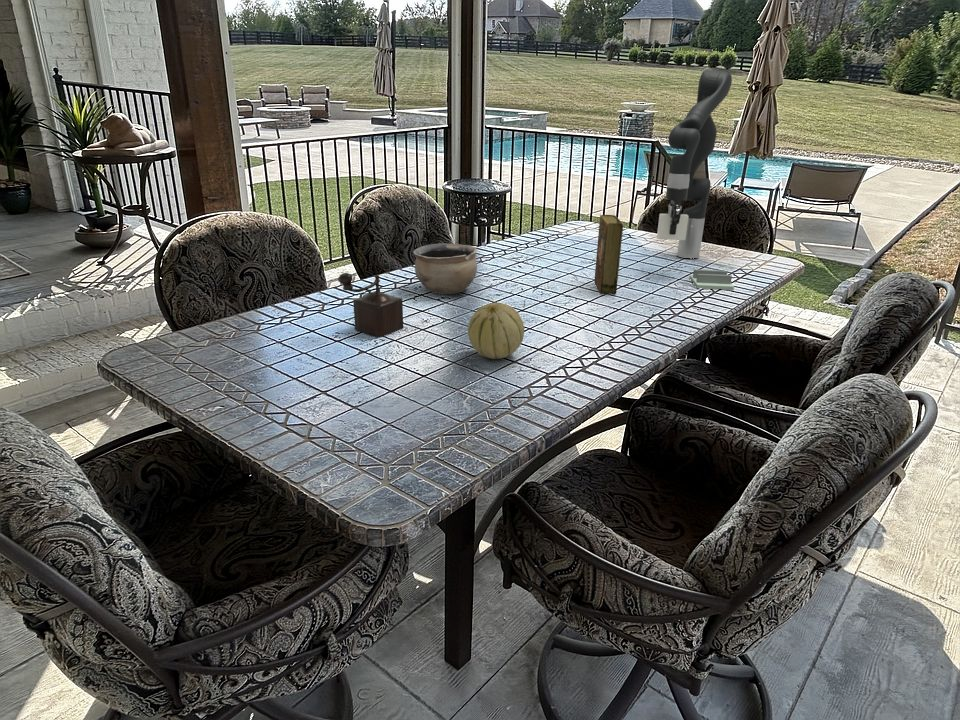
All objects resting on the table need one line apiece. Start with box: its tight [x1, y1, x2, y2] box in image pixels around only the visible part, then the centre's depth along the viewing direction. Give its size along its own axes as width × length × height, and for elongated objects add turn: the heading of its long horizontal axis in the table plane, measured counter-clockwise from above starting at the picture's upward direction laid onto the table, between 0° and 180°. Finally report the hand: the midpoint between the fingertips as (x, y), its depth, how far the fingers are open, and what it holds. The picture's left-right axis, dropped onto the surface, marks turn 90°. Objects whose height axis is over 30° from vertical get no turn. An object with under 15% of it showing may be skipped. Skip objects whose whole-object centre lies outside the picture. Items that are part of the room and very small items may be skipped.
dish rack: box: [688, 269, 735, 291], centre depth 236 cm, size 14×13×4 cm
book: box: [593, 214, 624, 295], centre depth 225 cm, size 16×6×25 cm, turn 179°
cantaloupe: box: [467, 301, 525, 360], centre depth 167 cm, size 15×15×15 cm
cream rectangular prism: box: [656, 213, 689, 241], centre depth 239 cm, size 3×10×9 cm, turn 84°
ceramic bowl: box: [413, 242, 478, 295], centre depth 221 cm, size 22×22×15 cm
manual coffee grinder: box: [337, 272, 404, 338], centre depth 182 cm, size 16×11×18 cm
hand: (671, 233), depth 239 cm, fingers closed on cream rectangular prism, 3 cm apart
